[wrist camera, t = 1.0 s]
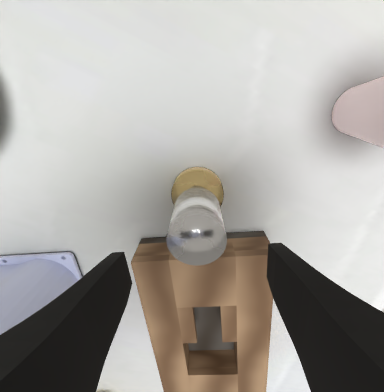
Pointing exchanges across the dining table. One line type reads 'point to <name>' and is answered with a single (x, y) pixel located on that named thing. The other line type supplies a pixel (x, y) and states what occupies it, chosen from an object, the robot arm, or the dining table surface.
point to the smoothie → (362, 112)
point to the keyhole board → (208, 315)
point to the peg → (197, 218)
